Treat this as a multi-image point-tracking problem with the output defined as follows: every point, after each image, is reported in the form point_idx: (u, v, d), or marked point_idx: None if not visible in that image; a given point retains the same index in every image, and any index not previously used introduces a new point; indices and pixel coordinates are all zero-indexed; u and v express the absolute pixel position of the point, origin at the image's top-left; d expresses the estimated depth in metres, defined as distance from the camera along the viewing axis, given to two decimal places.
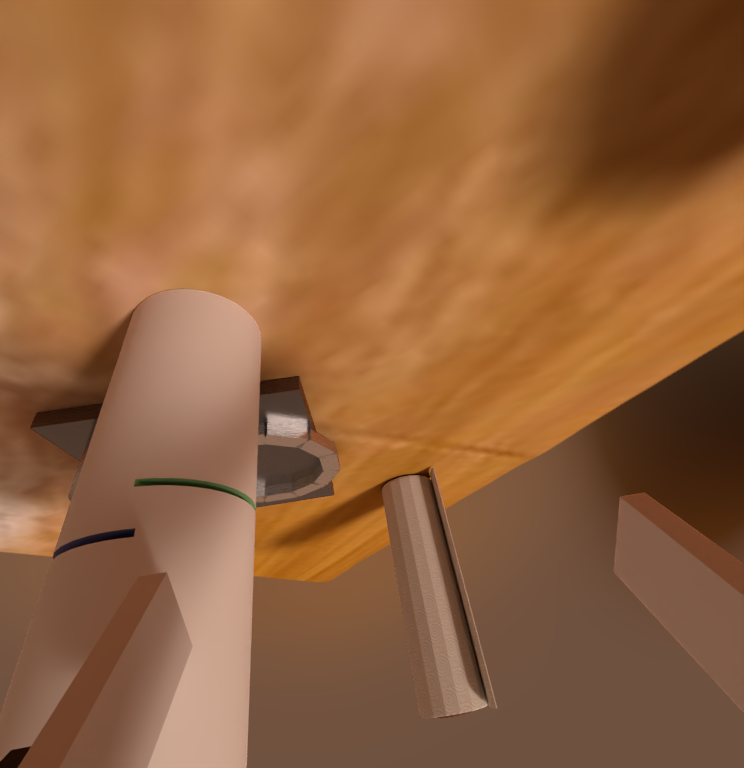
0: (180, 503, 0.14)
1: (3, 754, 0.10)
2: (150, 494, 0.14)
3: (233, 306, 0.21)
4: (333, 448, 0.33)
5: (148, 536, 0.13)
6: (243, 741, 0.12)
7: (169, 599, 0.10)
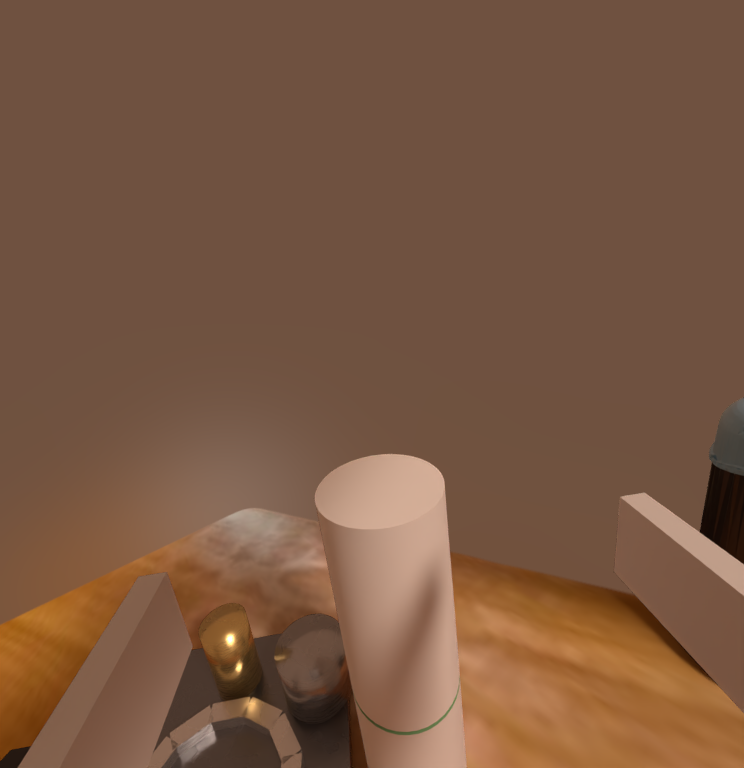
0: (456, 682, 0.24)
1: None
2: None
3: None
4: None
5: (457, 656, 0.24)
6: (399, 631, 0.20)
7: (170, 599, 0.10)
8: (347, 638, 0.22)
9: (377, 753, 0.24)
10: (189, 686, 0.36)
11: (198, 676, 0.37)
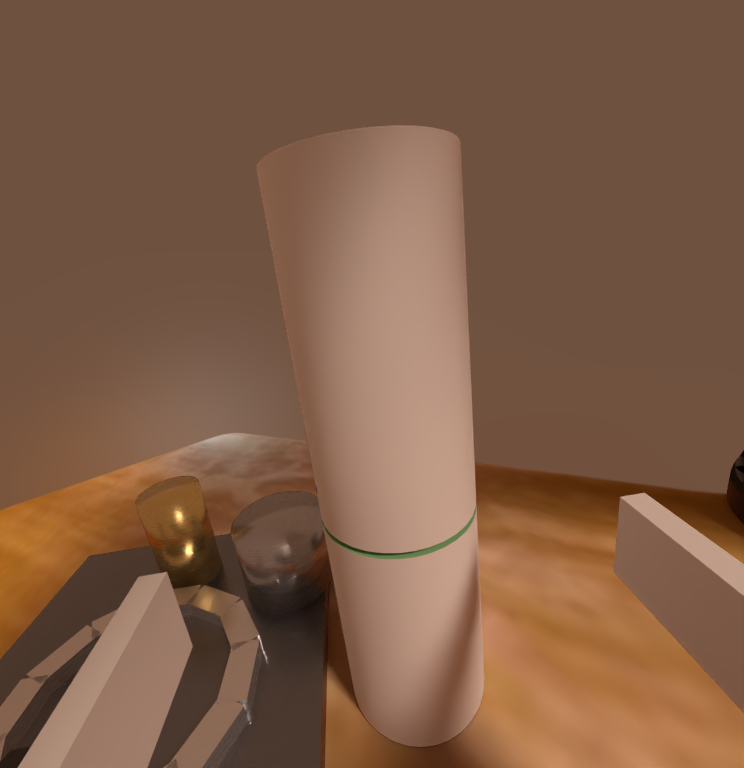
0: (473, 499, 0.16)
1: None
2: None
3: (473, 712, 0.19)
4: None
5: (474, 465, 0.16)
6: (385, 356, 0.12)
7: (169, 599, 0.10)
8: (308, 405, 0.14)
9: (356, 603, 0.16)
10: (129, 580, 0.29)
11: (143, 571, 0.29)
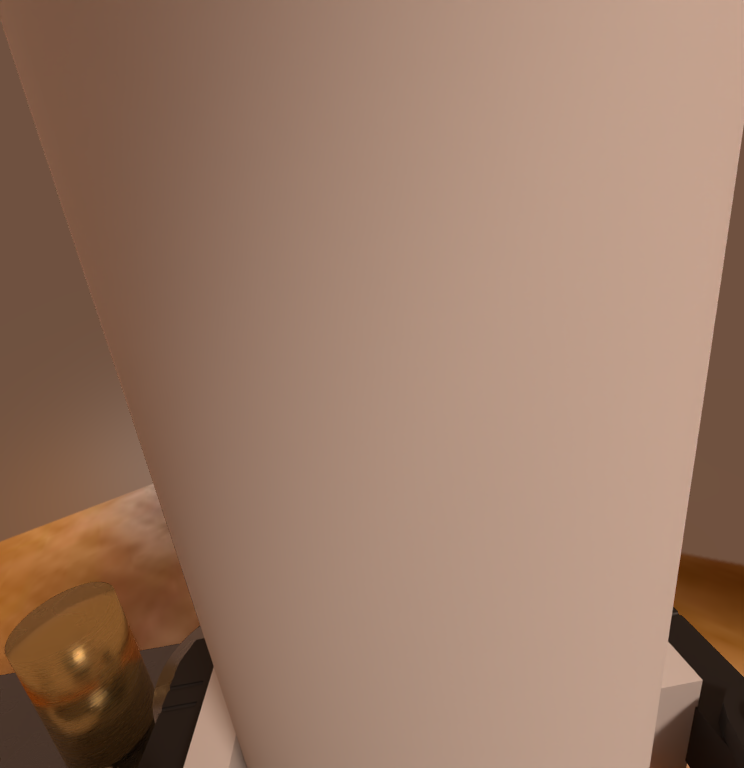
0: None
1: None
2: None
3: None
4: None
5: None
6: (475, 656, 0.03)
7: None
8: (217, 677, 0.05)
9: None
10: (17, 737, 0.19)
11: None
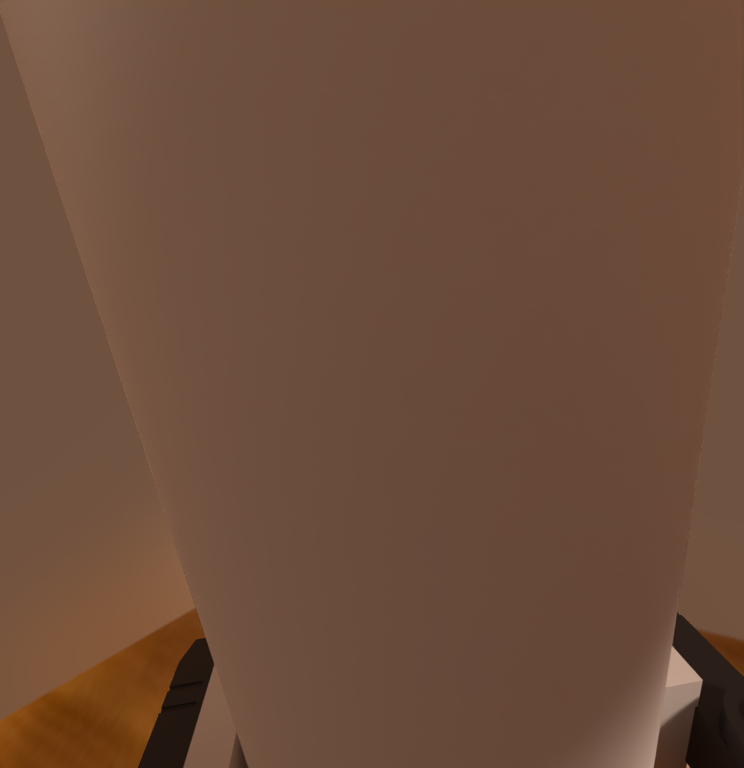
0: None
1: None
2: None
3: None
4: None
5: None
6: (481, 658, 0.03)
7: None
8: (219, 678, 0.05)
9: None
10: None
11: None
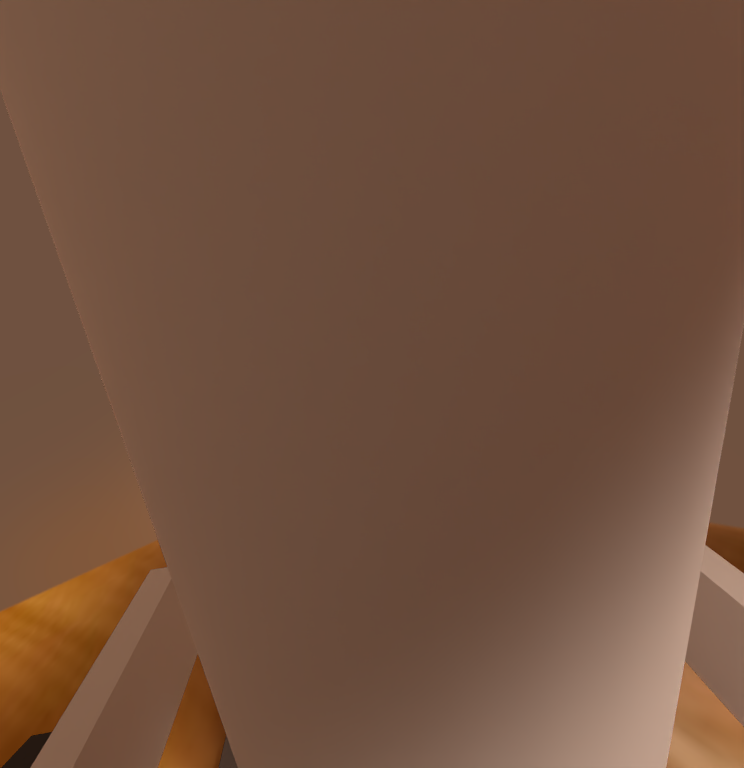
0: None
1: None
2: None
3: None
4: None
5: None
6: None
7: None
8: (236, 763, 0.05)
9: None
10: None
11: None
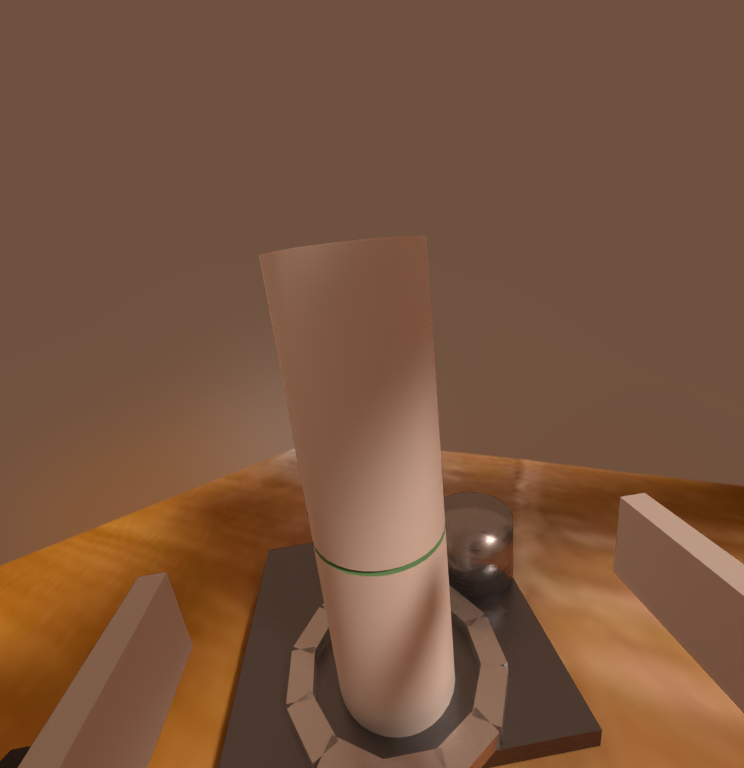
0: (441, 523, 0.19)
1: None
2: (444, 516, 0.20)
3: (443, 707, 0.21)
4: None
5: (442, 494, 0.19)
6: (363, 413, 0.15)
7: (170, 599, 0.10)
8: (301, 447, 0.17)
9: (341, 613, 0.19)
10: None
11: None
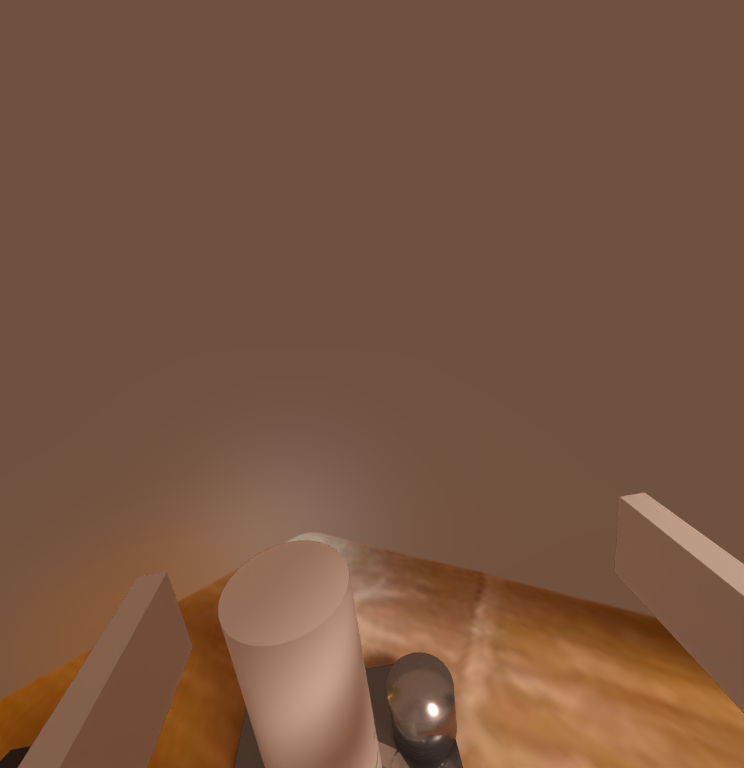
0: None
1: None
2: (376, 756, 0.25)
3: None
4: None
5: (373, 744, 0.24)
6: (297, 737, 0.20)
7: (170, 599, 0.10)
8: None
9: None
10: None
11: None
